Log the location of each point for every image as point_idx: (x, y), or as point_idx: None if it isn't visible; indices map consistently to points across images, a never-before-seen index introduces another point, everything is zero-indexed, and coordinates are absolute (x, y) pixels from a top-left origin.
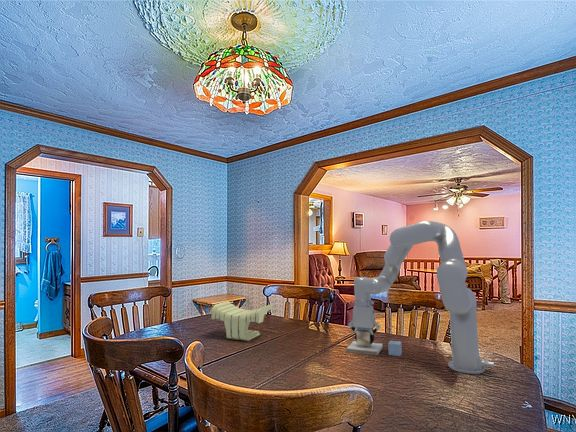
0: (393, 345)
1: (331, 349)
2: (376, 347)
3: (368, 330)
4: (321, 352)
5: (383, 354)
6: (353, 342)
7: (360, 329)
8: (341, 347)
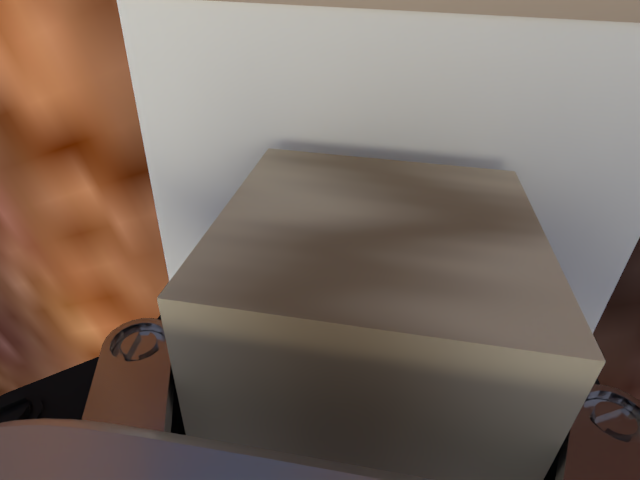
0: None
1: (30, 292)
2: (566, 263)
3: (473, 437)
4: (16, 374)
5: (631, 343)
6: (152, 94)
7: (217, 367)
8: (76, 206)
